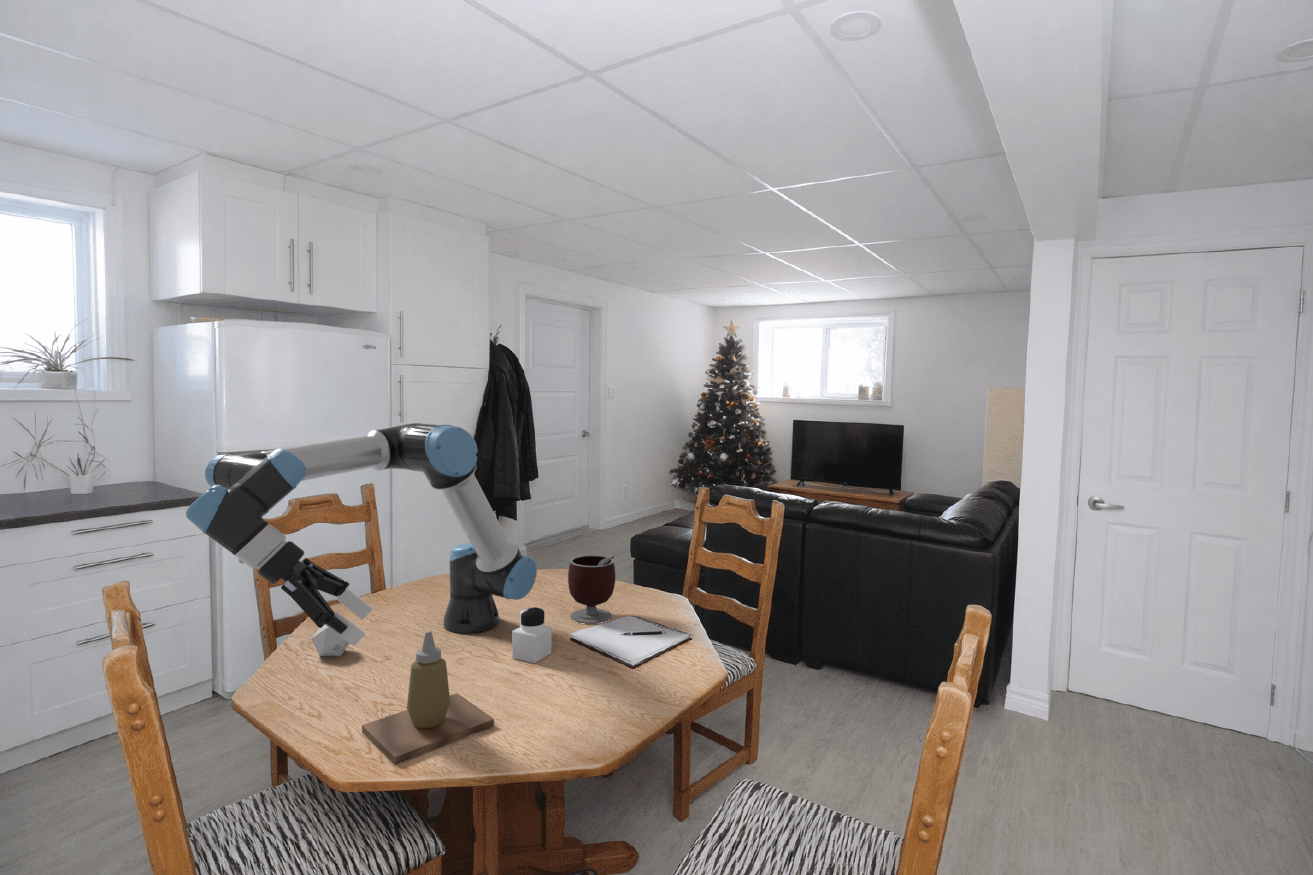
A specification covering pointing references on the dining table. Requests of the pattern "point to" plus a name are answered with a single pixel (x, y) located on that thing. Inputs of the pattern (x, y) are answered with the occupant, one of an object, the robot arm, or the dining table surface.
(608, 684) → the dining table surface
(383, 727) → the walnut board
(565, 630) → the dining table surface
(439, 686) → the squeeze bottle
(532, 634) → the medicine bottle
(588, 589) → the mate gourd
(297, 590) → the robot arm
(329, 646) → the die
